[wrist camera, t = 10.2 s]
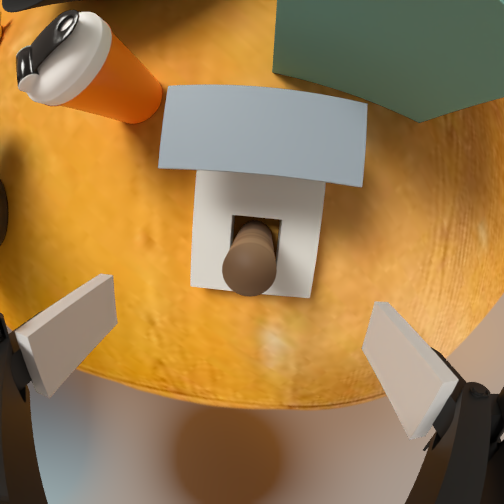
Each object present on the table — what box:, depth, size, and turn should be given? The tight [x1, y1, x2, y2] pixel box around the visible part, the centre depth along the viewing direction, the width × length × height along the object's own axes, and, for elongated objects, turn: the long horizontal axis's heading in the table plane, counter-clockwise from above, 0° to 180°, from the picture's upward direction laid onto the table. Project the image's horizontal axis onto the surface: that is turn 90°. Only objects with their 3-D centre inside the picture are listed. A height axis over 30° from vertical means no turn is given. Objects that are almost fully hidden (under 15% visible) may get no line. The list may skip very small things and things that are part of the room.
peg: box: [222, 220, 277, 296], centre depth 27 cm, size 4×4×14 cm
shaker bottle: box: [16, 10, 162, 124], centre depth 21 cm, size 9×9×20 cm
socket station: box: [158, 85, 367, 298], centre depth 27 cm, size 16×20×12 cm
